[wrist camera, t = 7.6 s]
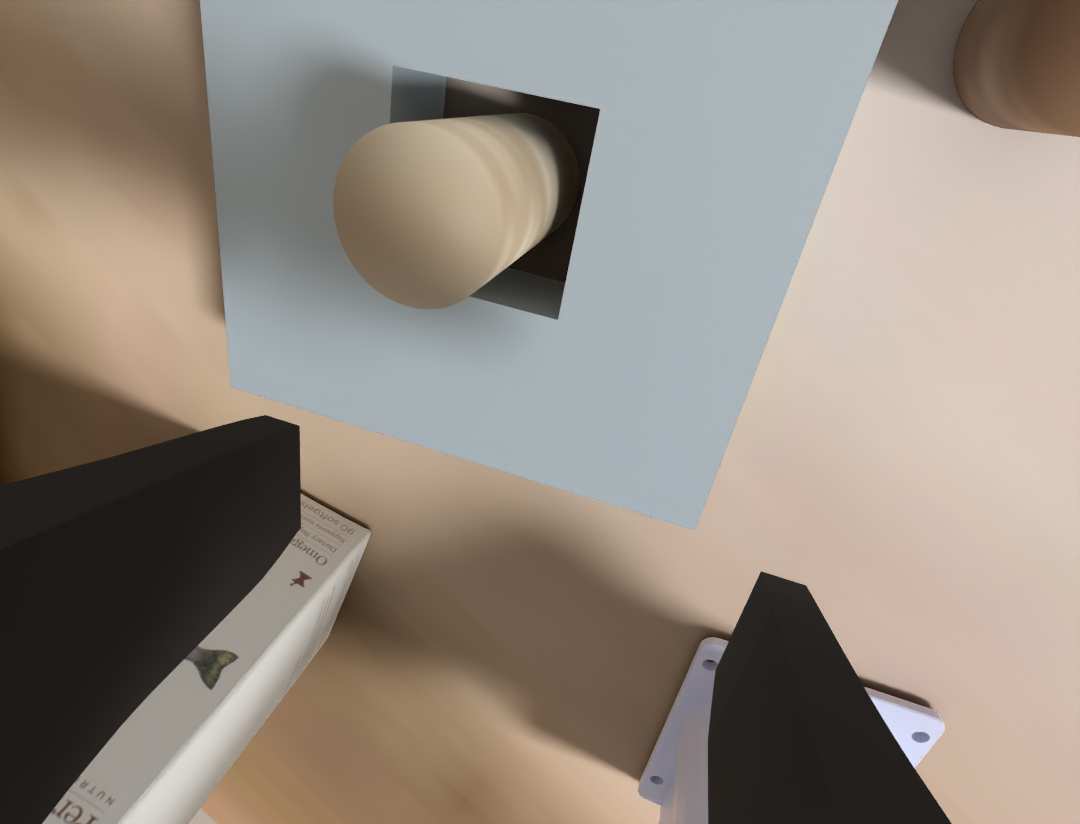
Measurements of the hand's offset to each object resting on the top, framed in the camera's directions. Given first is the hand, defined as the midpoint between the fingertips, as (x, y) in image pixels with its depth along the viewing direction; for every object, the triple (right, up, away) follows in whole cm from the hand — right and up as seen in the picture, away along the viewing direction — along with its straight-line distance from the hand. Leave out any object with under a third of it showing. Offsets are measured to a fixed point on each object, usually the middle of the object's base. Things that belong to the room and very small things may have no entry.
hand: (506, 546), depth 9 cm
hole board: (0, +8, +7) cm, 11 cm away
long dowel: (0, +8, +7) cm, 11 cm away
